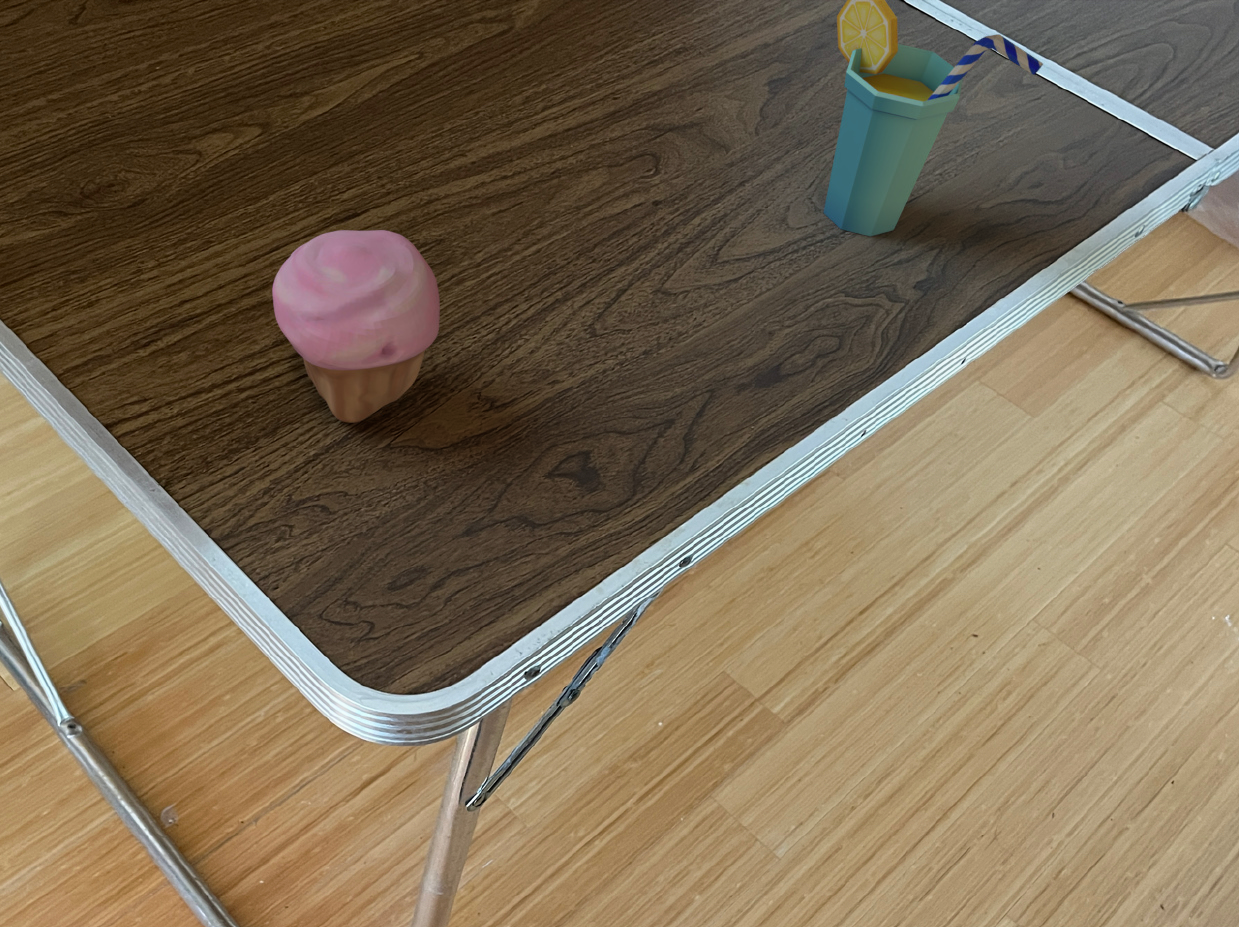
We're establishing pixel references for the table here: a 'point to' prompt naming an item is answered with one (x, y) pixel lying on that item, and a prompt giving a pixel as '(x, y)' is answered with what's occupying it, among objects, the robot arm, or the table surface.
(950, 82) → the cup
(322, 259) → the cupcake
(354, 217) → the table surface
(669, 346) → the table surface
